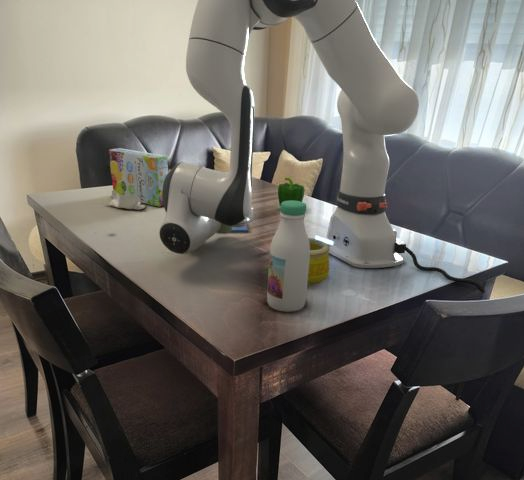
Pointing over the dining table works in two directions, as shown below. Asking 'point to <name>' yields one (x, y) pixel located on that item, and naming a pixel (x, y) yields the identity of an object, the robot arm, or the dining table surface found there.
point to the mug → (318, 261)
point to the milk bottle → (289, 260)
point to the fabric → (126, 201)
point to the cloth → (240, 229)
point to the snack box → (138, 174)
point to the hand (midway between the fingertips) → (222, 204)
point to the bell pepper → (290, 191)
